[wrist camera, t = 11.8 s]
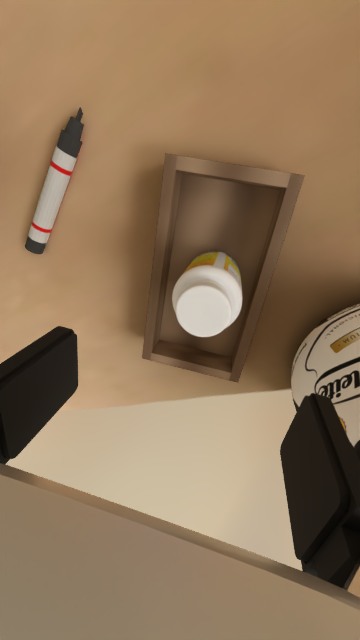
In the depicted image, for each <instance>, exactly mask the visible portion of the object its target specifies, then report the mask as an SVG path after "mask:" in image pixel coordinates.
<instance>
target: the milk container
mask: <svg viewBox="0 0 360 640" xmlns="http://www.w3.org/2000/svg"><path fill="white" fill-rule="evenodd" d="M291 388H292V396H293V401H294V405H295V407H296V411H298V409H299V407H300V404H301V402H302V400H303V398H304V397H305V396H306V395H307V396H310V394H311V393H315V394H319V395H323V396H327V397H329V398H330V399H331V401H332V403H333V405H334V407H335V410H336V412H337V414H338V416H339V419H340V421H341V423H342V425H343V427H344V430H345V432H346V434H347V436H348V439H349V441H350V442H351V443H352V445H353V447H354V449H355V451H356V453H357V455H358V458H359V460H360V303H359V304H356V305H353V306H350V307H347V308H345V309H343V310H341V311H339V312H337V313H336V314H334V315H332V316H330V317H328V318H327V319H325V320H324V321H322V322H321V323H320V324H319V325H318V326H317V327H316V328H315V329H314V330H313V331H312V332H311V333H310V334H309V335H308V336H307V337H306V338H305V340H304V341H303V342H302V344H301V346H300V347H299V349H298V351H297V353H296V356H295V358H294V361H293V365H292V374H291Z"/></svg>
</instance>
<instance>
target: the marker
mask: <svg viewBox="0 0 360 640" xmlns="http://www.w3.org/2000/svg"><path fill="white" fill-rule="evenodd" d="M82 115H83V113H82V110H81V108H79V111H78V114H77V117H76V119H75V118H73V117H70V120H69V122H68V124H67V126H66V128H65V130H61V133H60V137H59V140H58V143H57V146H56V148H55V151H54V154H53V157H52V160H51V164H50V167H49V170H48V173H47V176H46V179H45V183H44V186H43V189H42V192H41V195H40V199H39V202H38V205H37V208H36V211H35V214H34V218H33V221H32V224H31V227H30V230H29V234H28V238H27V241H26V244H25V248H26V249H27V250H28V251H30V252H32V253H35V254H42V253H43V251H44V248H45V246H46V243H47V241H48V238H49V236H50V233H51V230H52V227H53V224H54V222H55V219H56V216H57V213H58V210H59V208H60V205H61V202H62V199H63V196H64V194H65V191H66V188H67V185H68V182H69V180H70V177H71V174H72V171H73V168H74V166H75V163H76V160H77V156H78V153H79V150H80V147H81V145H82V142H81V141H80V138H81V134H82V130H83V124H82V123H81V122H80V121H81V118H82Z"/></svg>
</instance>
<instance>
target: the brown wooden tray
mask: <svg viewBox="0 0 360 640" xmlns="http://www.w3.org/2000/svg"><path fill="white" fill-rule="evenodd" d="M304 176H305V175H299V174H293V173H286V172H280V171H274V170H267V169H261V168H255V167H248V166H242V165H236V164H229V163H223V162H217V161H210V160H204V159H198V158H191V157H185V156H179V155H172V154H166V153H165V162H164V170H163V179H162V188H161V197H160V206H159V214H158V223H157V232H156V241H155V249H154V258H153V267H152V276H151V285H150V293H149V302H148V311H147V320H146V329H145V337H144V346H143V355H142V358H143V359H147V360H151V361H155V362H159V363H163V364H167V365H171V366H175V367H179V368H183V369H187V370H191V371H194V372H198V373H202V374H206V375H210V376H214V377H218V378H222V379H226V380H230V381H234V382H238V381H239V378H240V375H241V372H242V369H243V365H244V362H245V359H246V356H247V353H248V350H249V347H250V344H251V341H252V337H253V334H254V331H255V328H256V325H257V322H258V319H259V316H260V313H261V310H262V306H263V303H264V300H265V297H266V294H267V291H268V288H269V285H270V282H271V278H272V275H273V272H274V269H275V266H276V263H277V260H278V257H279V254H280V250H281V247H282V244H283V241H284V238H285V235H286V232H287V229H288V226H289V222H290V219H291V216H292V213H293V210H294V207H295V204H296V201H297V198H298V194H299V191H300V188H301V185H302V182H303V179H304ZM209 251H219V252H223V253H225V254H227V255H229V256H230V257H232V258H233V259H234V260H235V262H236V263H237V265H238V267H239V270H240V274H241V285H242V307H241V310H240V313H239V315H238V317H237V318H236V319H235V321H234V322H233V323H232V324H231V325H230V326H228V327H227V328H225V329H224V330H223V331H221V332H220V333H218V334H216V335H214V336H210V337H199V336H195V335H192V334H190V333H189V332H187V331H186V330H185V329H183V327H182V326H181V325H180V323H179V322H178V320H177V317H176V313H175V311H174V308H173V303H172V294H173V290H174V287H175V285H176V283H177V281H178V279H179V278H180V277H181V275H182V274H183V273H184V272H185V270H186V269H187V268H188V266H189V265H190V264H191V262H192V261H193V260H194V259H195V258H196V257H197V256H199V255H200V254H202V253H205V252H209Z"/></svg>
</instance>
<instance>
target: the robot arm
mask: <svg viewBox="0 0 360 640" xmlns="http://www.w3.org/2000/svg"><path fill="white" fill-rule="evenodd" d="M77 387H78V357H77V335H76V334H74V331H73V330H72V329H69V328H65V327H61V326H58V327H56V328H54V329H53V330H51V331H50V332H48V333H47V334H45V335H44V336H42V337H41V338H39V339H38V340H36V341H35V342H33V343H31V344H30V345H28V346H27V347H25V348H24V349H22V350H21V351H19V352H18V353H16V354H15V355H13V356H12V357H10V358H9V359H7V360H5V361H4V362H2V363H1V364H0V640H360V460H359V458H358V455H357V453H356V451H355V449H354V447H353V445H352V443H351V442H350V441H349V439H348V436H347V434H346V432H345V430H344V427H343V425H342V423H341V421H340V419H339V416H338V414H337V412H336V410H335V407H334V405H333V403H332V401H331V399H330V398H329V397H327V396H323V395H319V394H315V393H311V394H310V396H307V395H306V396H305V397H304V398H303V400H302V402H301V404H300V407H299V409H298V411H297V413H296V415H295V417H294V419H293V421H292V423H291V425H290V428H289V430H288V432H287V434H286V436H285V438H284V440H283V442H282V444H281V450H280V455H281V461H282V468H283V474H284V482H285V489H286V495H287V502H288V509H289V516H290V523H291V529H292V536H293V543H294V550H295V555H296V557H297V559H299V560H301V563H302V569H303V571H300V570H297V569H295V568H292V567H289V566H287V565H284V564H282V563H279V562H277V561H274V560H271V559H268V558H266V557H263V556H261V555H258V554H256V553H253V552H250V551H247V550H245V549H242V548H239V547H236V546H233V545H231V544H228V543H225V542H222V541H219V540H217V539H214V538H211V537H209V536H206V535H203V534H200V533H198V532H195V531H192V530H189V529H186V528H184V527H181V526H178V525H175V524H173V523H170V522H167V521H164V520H161V519H159V518H156V517H153V516H150V515H147V514H144V513H142V512H139V511H136V510H133V509H131V508H128V507H125V506H122V505H119V504H116V503H114V502H110V501H108V500H105V499H102V498H100V497H97V496H94V495H91V494H88V493H85V492H82V491H80V490H77V489H74V488H71V487H68V486H65V485H63V484H60V483H57V482H54V481H51V480H48V479H45V478H42V477H39V476H37V475H34V474H31V473H28V472H25V471H22V470H19V469H16V468H14V467H11V466H8V465H5V464H6V463H7V462H8V461H9V460H10V458H11V459H13V458H15V457H16V456H17V455H18V454H19V453H20V452H21V451H22V450H23V449H24V448H25V447H26V446H27V444H28V443H29V442H30V441H31V440H32V439H33V438H34V437H35V436H36V434H37V433H38V432H39V431H40V430H41V429H42V428H43V427H44V426H45V424H46V423H47V422H48V421H49V420H50V419H51V418H52V417H53V416H54V414H55V413H56V412H57V411H58V410H59V409H60V408H61V407H62V406H63V405H64V403H65V402H66V401H67V400H68V399H69V398H70V397H71V396H72V395H73V394H74V392H75V391H76V389H77Z"/></svg>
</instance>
